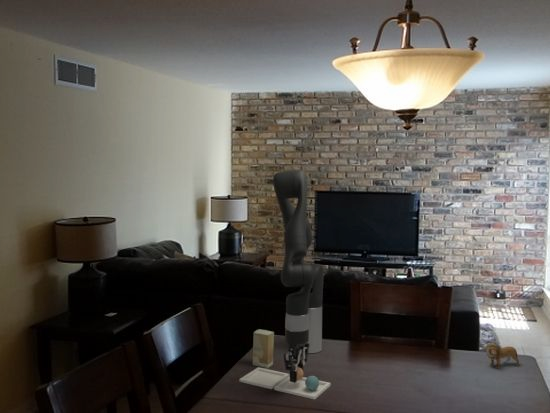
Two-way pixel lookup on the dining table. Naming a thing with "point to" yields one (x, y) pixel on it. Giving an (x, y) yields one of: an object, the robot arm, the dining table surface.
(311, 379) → the ball teal
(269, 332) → the skincare box
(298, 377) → the ball terracotta
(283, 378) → the tray
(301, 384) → the tray
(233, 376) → the dining table surface
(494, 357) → the lion figurine
